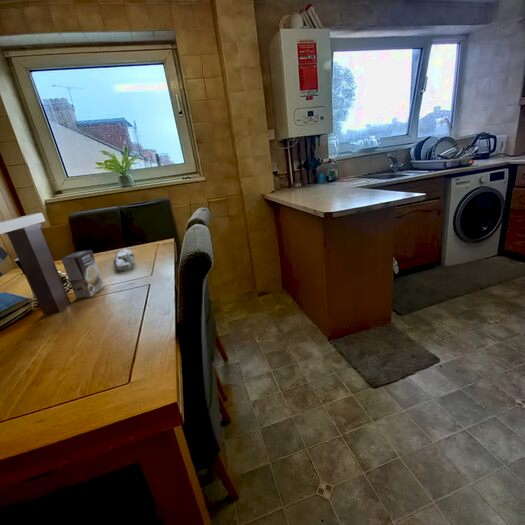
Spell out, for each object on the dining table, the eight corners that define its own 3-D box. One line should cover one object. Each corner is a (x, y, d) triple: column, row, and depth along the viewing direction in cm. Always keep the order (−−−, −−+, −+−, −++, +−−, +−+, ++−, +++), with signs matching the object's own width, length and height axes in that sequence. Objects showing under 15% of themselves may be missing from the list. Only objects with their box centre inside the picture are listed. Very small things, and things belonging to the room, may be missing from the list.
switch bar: (-18, 237, 78) (-23, 227, 76) (37, 222, 96) (33, 213, 95) (-8, 236, 77) (-13, 225, 76) (45, 221, 96) (42, 212, 95)
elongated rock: (135, 253, 161) (116, 258, 157) (132, 245, 159) (113, 250, 156) (137, 267, 130) (115, 274, 127) (134, 256, 129) (110, 263, 125)
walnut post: (41, 314, 96) (3, 230, 86) (55, 305, 102) (21, 225, 92) (60, 312, 96) (24, 228, 85) (72, 303, 102) (40, 223, 92)
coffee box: (91, 297, 106) (76, 257, 100) (75, 298, 106) (59, 259, 100) (105, 286, 114) (92, 249, 109) (90, 287, 115) (76, 251, 109)
